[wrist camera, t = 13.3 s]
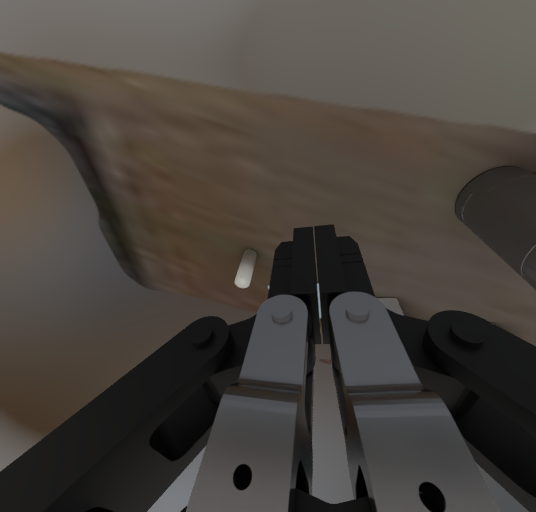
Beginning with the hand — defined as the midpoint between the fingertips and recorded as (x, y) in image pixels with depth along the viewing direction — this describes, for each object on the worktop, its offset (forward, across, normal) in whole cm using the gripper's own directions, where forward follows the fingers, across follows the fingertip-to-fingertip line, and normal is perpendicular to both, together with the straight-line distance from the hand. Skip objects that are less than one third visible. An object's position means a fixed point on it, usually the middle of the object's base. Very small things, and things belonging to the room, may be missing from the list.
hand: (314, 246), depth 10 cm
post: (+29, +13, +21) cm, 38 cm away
